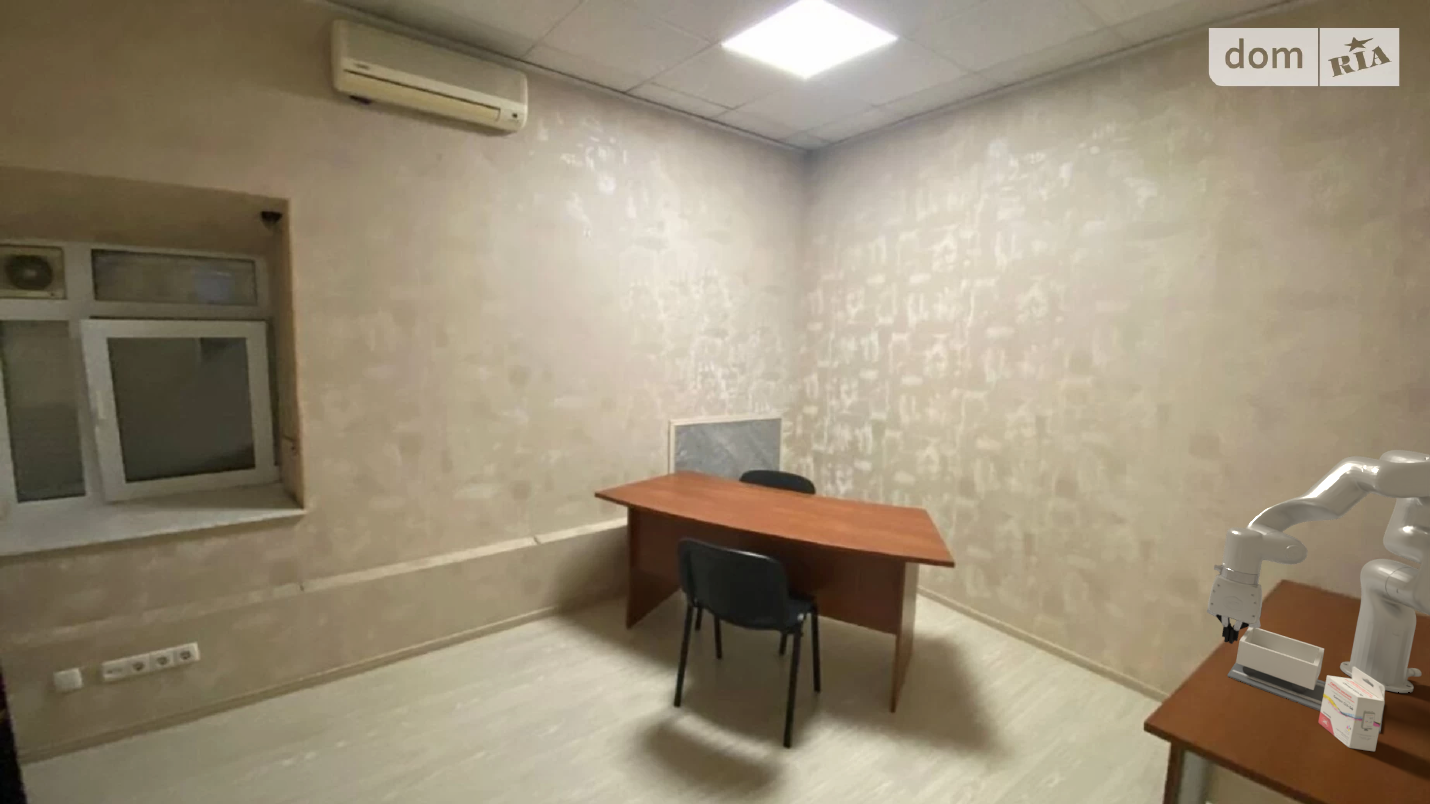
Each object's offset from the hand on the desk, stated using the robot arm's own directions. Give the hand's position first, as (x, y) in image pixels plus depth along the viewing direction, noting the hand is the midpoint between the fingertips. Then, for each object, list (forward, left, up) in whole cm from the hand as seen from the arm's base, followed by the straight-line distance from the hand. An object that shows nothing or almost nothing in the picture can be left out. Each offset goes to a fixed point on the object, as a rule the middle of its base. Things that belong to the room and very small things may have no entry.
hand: (1229, 641), depth 155 cm
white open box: (-6, +8, -5) cm, 11 cm away
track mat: (-9, +12, -6) cm, 16 cm away
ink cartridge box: (0, +29, -6) cm, 30 cm away
